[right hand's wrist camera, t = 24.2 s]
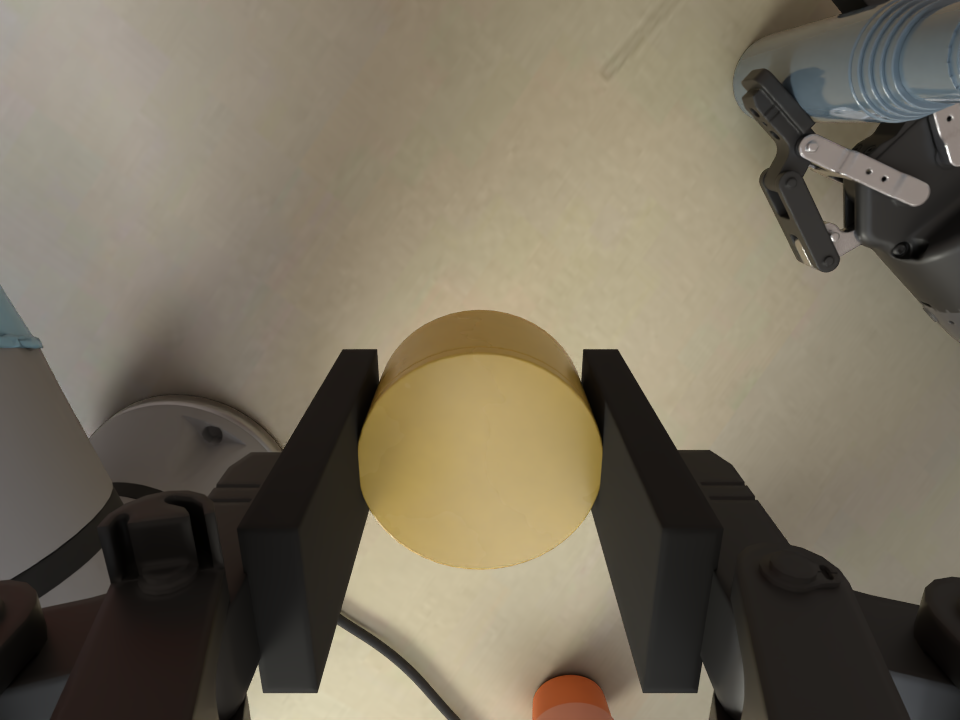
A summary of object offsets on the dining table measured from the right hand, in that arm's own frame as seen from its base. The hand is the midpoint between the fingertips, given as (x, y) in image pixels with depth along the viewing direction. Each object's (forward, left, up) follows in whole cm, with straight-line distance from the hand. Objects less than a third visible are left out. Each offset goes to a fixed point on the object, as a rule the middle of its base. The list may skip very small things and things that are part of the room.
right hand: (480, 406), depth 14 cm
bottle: (+3, -19, -28) cm, 34 cm away
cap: (0, 0, 0) cm, 0 cm away
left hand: (+6, -17, -21) cm, 28 cm away
